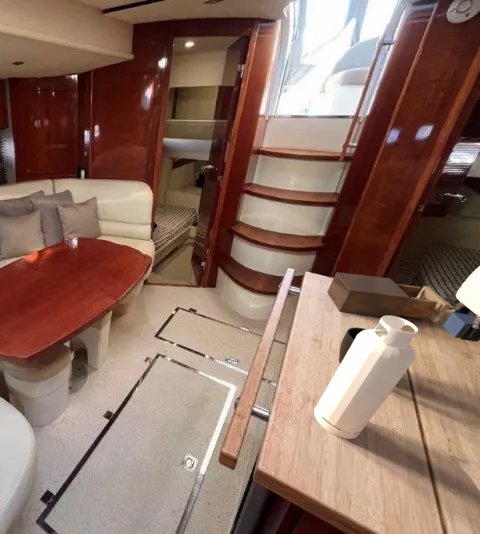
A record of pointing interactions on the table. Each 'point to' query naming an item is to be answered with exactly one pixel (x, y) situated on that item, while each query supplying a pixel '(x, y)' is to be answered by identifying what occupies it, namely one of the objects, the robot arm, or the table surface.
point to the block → (458, 323)
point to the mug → (348, 341)
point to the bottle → (366, 377)
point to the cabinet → (367, 295)
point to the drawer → (425, 303)
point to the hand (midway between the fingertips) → (460, 332)
